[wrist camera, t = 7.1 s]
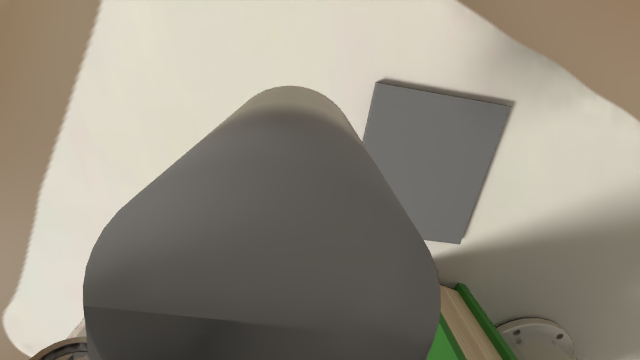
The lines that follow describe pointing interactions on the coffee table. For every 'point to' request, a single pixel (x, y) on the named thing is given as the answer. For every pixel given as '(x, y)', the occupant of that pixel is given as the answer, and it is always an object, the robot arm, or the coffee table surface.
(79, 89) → the coffee table surface
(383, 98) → the charcoal mat
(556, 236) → the coffee table surface
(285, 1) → the coffee table surface
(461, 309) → the hardback book
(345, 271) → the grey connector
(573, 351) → the robot arm
